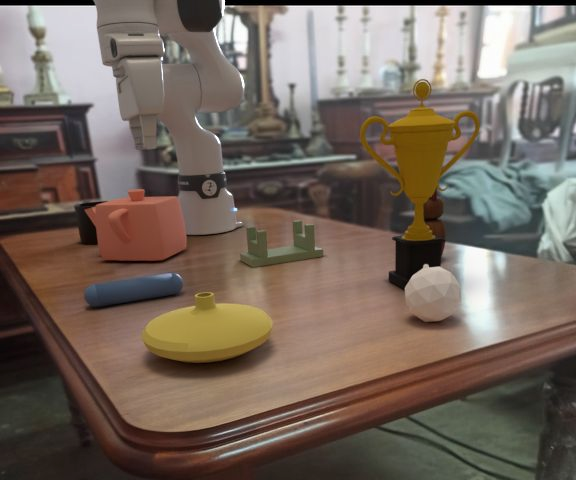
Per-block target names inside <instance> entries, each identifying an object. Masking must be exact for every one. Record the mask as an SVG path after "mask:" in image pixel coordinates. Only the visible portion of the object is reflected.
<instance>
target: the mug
mask: <svg viewBox="0 0 576 480" xmlns="http://www.w3.org/2000/svg"><path fill="white" fill-rule="evenodd" d="M108 201H109V200H102V201H101V200H99V201H89V202H82V203H78V204H75V205H74V212H75V218H76V223H77V229H78V235H79V240H80V243H82V244H84V245H98V239H97V231H96V227H95V225H94V224H93V222H92V221H91V219H90V218H89V216H88V215H87V213H86V212H85V209H89V208H92V207H95V206H96V205H98V204H101V203H105V202H108Z"/></svg>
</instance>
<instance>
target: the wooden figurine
mask: <svg viewBox="0 0 576 480" xmlns="http://www.w3.org/2000/svg"><path fill="white" fill-rule="evenodd" d="M437 190H438V189H437V188H436V189H435V192H434V194H433V195H432V197H429V199H428V200H427V202H425V203H424V204H423V210H424V211H423V217H424V222H425V224H426V225H427V226H429V227H430V229H429V230H432V234H433V235H436V236H439V237H442V238H444V239H446V238H447V237H446V236H447V233H446V232H447V231H446V224H445V223H444V220H442V219H440V218H441V217H442V216H443V214H444V202H443V200H442V199H441V198H440V197H438V193H437V192H438V191H437ZM446 240H447V239H446ZM445 247H446V241H445V242H442V248H441V257H442V256H443V254H444V250H445Z"/></svg>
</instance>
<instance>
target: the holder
mask: <svg viewBox="0 0 576 480" xmlns="http://www.w3.org/2000/svg"><path fill="white" fill-rule="evenodd" d="M245 229H246V230H245V231H246V241H247V242H246V243H247V252H240V253H239V258H240V261H241V262H242V263H244V264H246V265H248V266H249V267H252V268H258V267H259V268H260V267H263V266H265V267H266V266H271V265H278V264H284V263H290V262H297V261H303V260H310V259H316V258H322V257H324V248H321V247H319V246H316V242H315V241H316V239H315V233H316V232H315V224H313V223H307V224H304V230H303V220H300V219H297V220H292V235H293V236H292V237H293V245H288V246H280V247H273V248H268V238H267V230H265V229H261V230H257V227H256V226H254V225H251V226H250V225H249V226H246V228H245ZM303 231H304V232H303Z"/></svg>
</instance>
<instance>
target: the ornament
mask: <svg viewBox="0 0 576 480" xmlns="http://www.w3.org/2000/svg"><path fill="white" fill-rule="evenodd" d="M461 287H462V286H461V284H460V283H459V281H458V279H457V278H456V277H455V275H454V274H453V273H452V272H450V271H449V270H447V269H445V268H443V267H442V266H441V267H430V268H429V265H428V264H425V265H424V266H423V269H421V270H420V271H418V272H417V273H415V274H414V275H413V276H412V277H411V279H410V280H409V282H408V284H407V285H406V287H405V289H404V297H405V298H404V299H405V304H406V306H407V308H408V310H409V312H410V313H411V314H412V315H413V316H415V317H417V318H418V319H420V320H421V321H423V322H424V323H431V322H440V321H443V320H445V319H446V318H448V317H450V316H452V315H454V313H455V312H456V310H457V309H458V307H459V305H460V304H461V302H462V290H461V289H462V288H461Z"/></svg>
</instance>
